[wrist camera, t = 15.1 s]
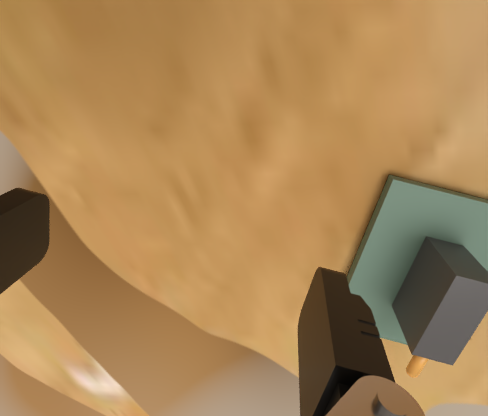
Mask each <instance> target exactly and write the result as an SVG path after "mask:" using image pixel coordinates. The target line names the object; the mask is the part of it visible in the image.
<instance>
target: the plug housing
mask: <svg viewBox="0 0 488 416" xmlns="http://www.w3.org/2000/svg"><path fill="white" fill-rule="evenodd" d="M392 308H393V310H394V313H395V315H396V318H397V320H398V322H399V325H400V327H401V330H402V332H403V334H404V337H405V339H406V342H407V344H408V346H409V349H410V351H411V354H412V355H413V357H412V359H411V361H410V362H409V364H408V366H407V368H406V372H407V374H408V375H409V376H410V377H413V378H415V377H418V376H419V374H420V372H421V371H422V369H423V367H424V366H425V364H426V362H427V361H428V359H431V360H435V361H438V362H442V363H446V364H450V365H453V364H454V363H455V361H456V360H457V358H458V356H459V355H460V353H461V352H462V350H463V349H464V347H465V345H466V344H467V342H468V341H469V339H470V338H471V336H472V335H473V333H474V331H475V330H476V328H477V327H478V325H479V324H480V322H481V320H482V319H483V317H484V316H485V314H486V313H487V311H488V271H487V270H486V269H485V268H484V267H483V266H482V265H481V264H480V263H479V262H478V261H477V260H476V258H475V257H474V256H473V255H472V254H471V253H470V252H469V251H468V250H467V249H466V248H465V247H464V246H462V245H458V244H455V243H451V242H447V241H443V240H439V239H435V238H431V237H427V236H426V237H425V239H424V241H423V243H422V245H421V247H420V249H419V251H418V253H417V256H416V258H415V260H414V262H413V264H412V266H411V268H410V270H409V272H408V274H407V276H406V278H405V280H404V282H403V284H402V286H401V288H400V290H399V292H398V294H397V296H396V298H395V300H394V302H393V304H392Z"/></svg>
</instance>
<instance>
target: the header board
mask: <svg viewBox="0 0 488 416" xmlns="http://www.w3.org/2000/svg"><path fill="white" fill-rule="evenodd" d="M426 236H427V237H431V238H435V239H439V240H443V241H447V242H451V243H455V244H458V245H462V246H464V247H465V248H466V249H467V250H468V251H469V252H470V253H471V254H472V255H473V256H474V257H475V258H476V260H477V261H478V262H479V263H480V264H481V265H482V266H483V267H484V268H485V269H486V270H487V271H488V200H487V199H483V198H479V197H475V196H471V195H467V194H463V193H459V192H456V191H452V190H448V189H444V188H440V187H436V186H432V185H428V184H424V183H420V182H416V181H412V180H408V179H405V178H401V177H397V176H393V175H389V176H388V179H387V181H386V184H385V186H384V189H383V191H382V193H381V196H380V198H379V201H378V203H377V205H376V208H375V210H374V213H373V215H372V217H371V220H370V222H369V225H368V227H367V229H366V232H365V234H364V237H363V239H362V242H361V244H360V246H359V249H358V251H357V254H356V256H355V258H354V261H353V263H352V266H351V268H350V270H349V273H348V275H347V281H348V285H349V289H350V292H351V293H352V294H356V295H360V296H361V297H362V299H363V300H364V301H365V302H366V303H367V305H368V306H369V307H370V308H371V310H372V313H373V316H374V319H375V322H376V327H377V328H378V331H379V334H380V338H384V339H387V340H391V341H395V342H399V343H403V344H406V345H408V344H407V342H406V339H405V337H404V334H403V332H402V330H401V327H400V325H399V322H398V320H397V318H396V315H395V313H394V310H393V308H392V304H393V302H394V300H395V298H396V296H397V294H398V292H399V290H400V288H401V286H402V284H403V282H404V280H405V278H406V276H407V274H408V272H409V270H410V268H411V266H412V264H413V262H414V260H415V258H416V256H417V253H418V251H419V249H420V247H421V245H422V243H423V241H424V239H425V237H426Z"/></svg>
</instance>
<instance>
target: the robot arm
mask: <svg viewBox="0 0 488 416" xmlns="http://www.w3.org/2000/svg"><path fill="white" fill-rule="evenodd" d="M48 246H49V199H48V197H47V196H46V195H44V194H41V193H37V192H33V191H29V190H25V189H22V188H15V189H13V190H11V191H9V192H7V193H4V194H2V195H1V196H0V294H1V293H2V292H3V291H5V290H6V289H7V288H8V287H10V286H11V285H12V284H13V283H15V282H16V281H17V280H18V279H19V278H21V277H22V276H23V275H24V274H25V273H27V272H28V271H29V270H31V269H32V268H33V267H34V266H35V265H37V264H38V263H39V262H40V261H41V260H42V259H43V257H44V255H45V254H46V252H47V249H48ZM298 355H299V388H300V416H425V414H424V412H423V410H422V409H421V407H420V405H419V404H418V403H417V401H416V400H415V399H414V398H413V397H412V396H411V395H410V394H409V393H408V392H407V391H406V390H405V389H403V388H402V387H401V386H399V385H398V384H396V383H395V380H394V377H393V374H392V371H391V368H390V365H389V362H388V359H387V356H386V353H385V350H384V346H383V343H382V340H381V339H380V334H379V331H378V328H377V327H376V322H375V319H374V316H373V313H372V310H371V308H370V307H369V306H368V305H367V303H366V302H365V301H364V300H363V299H362V297H361V296H360V295H356V294H352V293H351V292H350V289H349V285H348V281H347V277H346V274H344V273H341V272H337V271H333V270H330V269H326V268H322V267H318V269H317V270H316V272H315V275H314V277H313V280H312V283H311V285H310V288H309V291H308V294H307V296H306V299H305V302H304V304H303V307H302V310H301V313H300V318H299V323H298Z"/></svg>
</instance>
